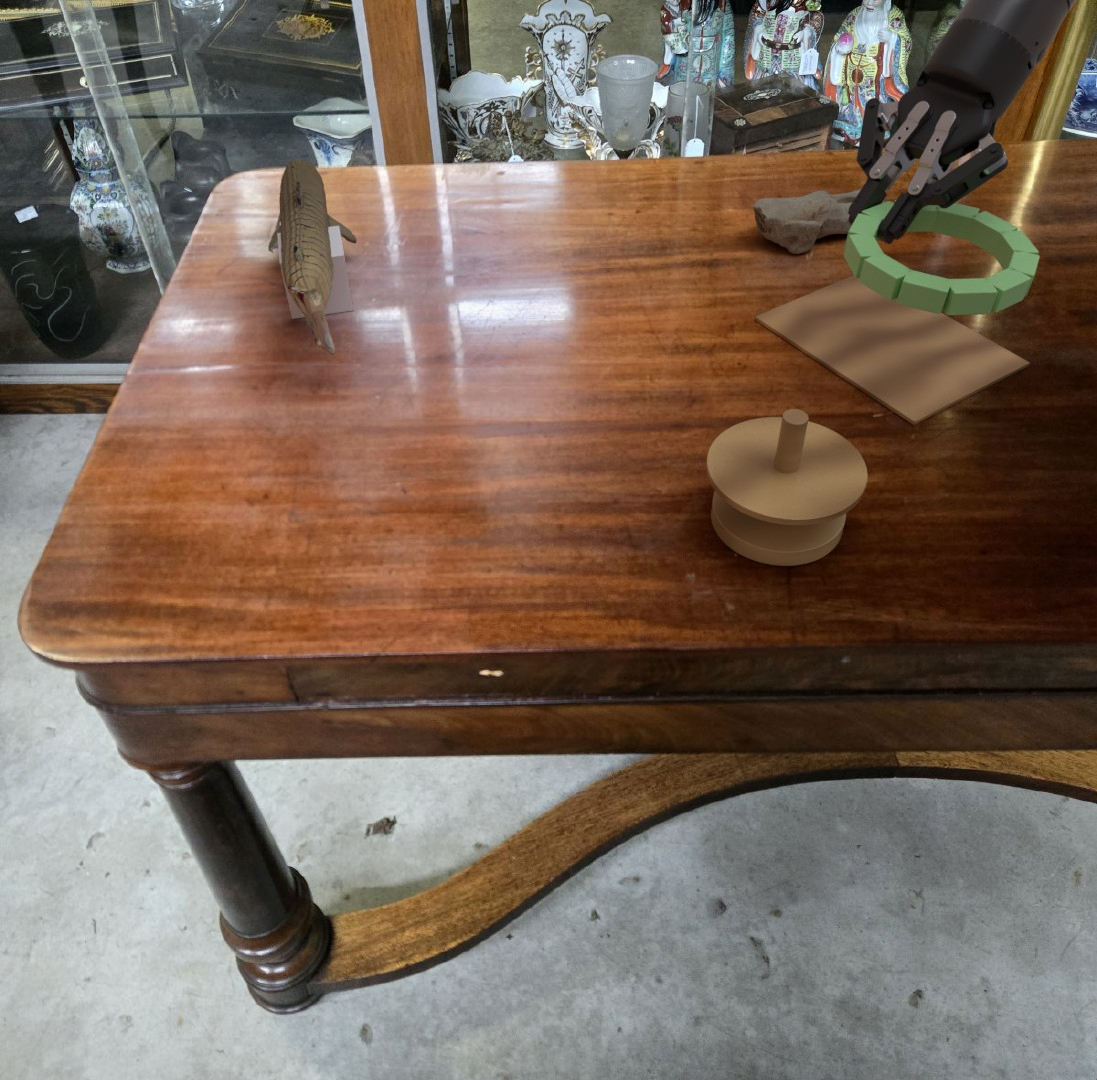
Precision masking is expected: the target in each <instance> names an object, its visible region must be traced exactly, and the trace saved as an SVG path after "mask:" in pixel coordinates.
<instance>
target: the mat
mask: <svg viewBox="0 0 1097 1080" xmlns="http://www.w3.org/2000/svg"><path fill="white" fill-rule="evenodd" d="M897 299H898V298H896V299H894V300H891V301H890V300H888V299H886V298H885V297H883V296H881V295H880V294H878V293H877V292H875V291H873V290H872V289H870V288H868V287H867V286H865V285H864V284H862V283H860V282H859V278H855V277H854V275H853V274H852V275H850V276H847V277H845V278H843V279H841V280H838V281H836V282H833V283H831V284H829V285H826V286H824V287H822V288H819V289H817V290H814V291H812V292H810V293H808V294H805V295H803V296H800V297H798V298H796V299H795V298H794V299H793V300H790V301H788V302H786V303H784V304H781V305H779V306H777V307H774V308H772V309H769V310H767V311H765V312H762V313H759V314H757V315H755V316H754V321H756V322H757V323H758V324H760V325H761V326H763V327H765V328H766V329H768V330H769V331H771V332H772V333H774V334H775V335H776V336H777V337H780V338H781V339H783V340H784V341H786V343H789V344H790V345H792V346H794V347H795V348H796V349H798V350H799V351H801V352H803V353H804V354H805V355H806V356H808V357H810V358H811V359H813V360H814V361H816V362H817V363H819V364H821V365H822V366H824V367H825V368H826V369H828V370H829V371H831V372H833V373H834V374H835V375H837V376H838V377H840V378H842V379H843V380H844V381H846V382H848V383H849V384H851V385H852V386H854V387H855V388H857V389H858V390H860V391H861V392H863V393H864V394H866V395H867V396H869V397H870V398H871V399H873V400H874V401H876V402H877V403H879V404H881V406H884V407H885V408H886V409H888V410H890V411H891V412H893V413H895V414H896V415H897V416H899V417H901V418H902V419H903V420H905V421H907V422H908V423H909V424H911V425H913V426H915V425H918V424H919V423H921V422H923V421H925V420H927V419H929V418H930V417H933V416H935V415H937V414H938V413H940V412H943V411H944V410H946V409H948V408H950V407H952V406H954V405H956V404H958V403H960V402H962V401H963V400H965V399H968V398H969V397H972V396H974V395H975V394H978V393H979V392H981V391H983V390H986V389H987V388H989V387H991V386H993V385H995V384H997V383H999V382H1000V381H1003V380H1004V379H1006V378H1008V377H1010V376H1012V375H1014V374H1016V373H1018V372H1019V371H1022V370H1024V369H1025V368H1027V367H1028V368H1029V366H1030V364H1031V362H1029V361H1028V360H1026V359H1025V358H1022V357H1021V356H1019V355H1017V354H1016V353H1013V352H1012V351H1010V350H1008V349H1006V348H1005V347H1003V346H1002V345H999V344H998V343H996V342H994V341H992V340H991V339H989V338H988V337H985V336H984V335H981V334H980V333H978V332H976V331H975V330H973V329H971V328H969V327H968V326H966V325H965V324H962V323H960V322H959V321H957V320H956V319H953V318H951V316H949V315H947V314H946V313H943V312H941V314H940V315H939V314H935V313H931V312H928V311H924V310H920V309H916V308H912V307H908V306H904V305H900V304H897V303H896V302H897Z"/></svg>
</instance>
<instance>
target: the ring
mask: <svg viewBox="0 0 1097 1080" xmlns="http://www.w3.org/2000/svg"><path fill="white" fill-rule="evenodd" d="M896 200H897V199H894V201H891V200H888V201H885V203H882V204H879V205H877V206H874V207H871V208H869V209H866V210H863V211H862V212H861V214H858V215H857V217H856V219H855V221H854V222H853V224H852V226H851V228H850V230H849V232H848V234H847V236H846V239H845V243H844V244H845V245H844V249H843V258H844V260H845V261H846V264H847V265H848V268H849V269H850V271H851V273H852V275H854V277H855V278H859V282H860V283H862V284H864V285H865V286H867V287H868V288H870V289H872V290H873V291H875V292H877V293H878V294H880V295H881V296H883V297H885V298H886V299H888V300H890V301H891V300H894V299H896V298H898V299H897V302H896V303H897V304H900V305H904V306H908V307H912V308H916V309H920V310H924V311H928V312H931V313H935V314H939V315H940V314H941V313H943V311H944V314H945V315H946V316H973V315H974V316H976V315H981V316H982V315H990V314H991V312H993V313H994V314H996V313H998V312H1000V311H1003V310H1005V309H1007V308H1010V307H1012V306H1013V305H1015V304H1017V303H1018V304H1019V303H1020V302H1022V301H1023V300H1024V299H1025V298H1026V297H1027V295H1028V293H1029V290H1030V288H1031V286H1032V282H1033V281H1034V278H1035V275H1036V273H1037V268H1038V264H1039V262H1040V257H1041V256H1040V255H1039V250H1038V248H1037V247H1036V246H1035V245H1034V244H1033V242H1032V241H1031V240H1030V239H1029V237H1028V236H1027V235H1026V234H1025V232H1024V231H1023V230H1019V227H1018V226H1016V225H1014V224H1012V223H1010V222H1008V221H1007V220H1004V219H1003V218H1001V217H999V216H996V215H995V214H993V213H991V212H989V211H987V210H983V211H981V212H980V208H978V207H974V206H969V205H965V204H960V203H958V202H955V203H954V204H953V205H951V206H950V207H948V208H945V209H943V208H940V207H939V206H938V205H927V206H925V207H923V208H922V209H921V210H920V211H919V213H918V214H917V216H916V217H915V219H914V220H913V222H912V223H911V225H910V226H909V228H908V229H907V231H906V232H905V233H927V232H928V233H929V232H930V233H935V234H939V235H944V236H947V237H948V236H949V237H953V238H956V239H961V240H965V241H967V242H969V243H970V244H973V245H974V246H976V247H978V248H979V249H981V250H982V251H985V252H988V253H989V254H991V255H992V256H993V257H994V258H995V260H996V261H997V263H998V264H999V265H1000V267H1001V268H1002V269H1003V270H1001V271H998V272H995V273H994V274H991V275H990V276H987V277H982V278H981V277H979V278H946V277H942V276H939V275H934V274H930V273H925V272H922V271H918V270H914V269H911V268H909V267H907V266H906V265H904V264H902V263H901V262H899V261H897V260H896V259H893V258H892V257H891V256H889V255H887V254H886V253H884V251H883V249H882V248H881V246H880V245H879V243H878V241H881V239H880V238H879V237H878V235H877V231H878V228H879V226H880V224H881V223H882V221H883V220H884V218H885V217H886V215H887V214H888V212H889V211H890V209H891V208H892V206H893V205H894V203H895V202H896Z"/></svg>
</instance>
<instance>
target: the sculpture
mask: <svg viewBox="0 0 1097 1080" xmlns="http://www.w3.org/2000/svg"><path fill="white" fill-rule="evenodd" d="M861 189H862V188H861ZM861 189H857V190H854V191H850V192H849V191H848V192H841V193H835V194H834V193H833V194H832V193H829V192H828V191H826V190H824V189H823V190H822V189H821V190H815V191H812V192H811V193H808V194H805V195H801V196H797V197H764V198H760V199H758V200H757V201H756V202H755V203H754V204H753V206H752V210H753V212H754V220H755V223H756V227H757V229H758V231H759V233H760V234H761V235H762V236H763V237H764V239H766V240H769V241H771V242H772V243H774V244H778V245H779V246H780V247H782V248H786V249H787V250H788V252H789V253H791V254H794V255H799V254H803V253H806V252H809V251H810V250H811V249H812V248H813V246H814V244H815V243H816V240H819V239H821V238H824V237H827V236H830V235H848V232H849V230H850V228H851V226H852V225H851V224H850V223H849V216H850V215H849V214H848V211H849V207H850V205H851V204H852V202H853V201H854V199H855V198H856V197H857V195H858V193H859V192H860V190H861ZM885 202H886V201H885V199H884V200H883V202H882V203H885ZM882 203H881V204H882Z"/></svg>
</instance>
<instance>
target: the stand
mask: <svg viewBox="0 0 1097 1080" xmlns="http://www.w3.org/2000/svg"><path fill="white" fill-rule="evenodd" d="M809 420H810V417H809V415H808V413H807V412H805V411H804V410H802V409H799V408H789V409H787V410H785V411H784V412H783V413H782V416H767V417H758V418H753V419H748V420H744V421H741V422H739V423H736V424H734V425H732V426H730V427H729V428H727V429H725V430H724V431H722V432H721V433H720V434H719V435H718V436H717V437H716V438H715V439H714V440H713V441H712V443H711V445H710V447H709V449H708V452H707V456H706V464H705V465H706V466H705V468H706V469H705V470H706V475H707V478H708V480H709V483H710V485H711V487H712V489H713V490H714V492H713V496H712V503H711V511H710V519H711V524H712V527H713V529H714V532H715V533H716V535H717V537H718V538H719V539H720V540H721V541H722V542H723V543H724V545H726V546H727V547H728V548H729V549H731V550H732V551H733V552H735V553H736V554H738V555H740V556H741V557H744V558H746V559H749V560H752V561H754V562H756V563H760V564H764V565H770V566H778V567H781V566H782V567H792V566H793V567H794V566H802V565H805V564H809V563H810V564H811V563H813V562H815V561H818V560H820V559H822V558H824V557H825V556H827V555H829V554H830V553H831V552H832V551H833V550H834V549H835V548H836V547H837V545H838V544H839V542H840V541H841V539H842V535H843V531H844V528H845V523H846V520H847V513H849V512H850V511H851V510H852V509H853V508H855V507H856V506H857V505H858V504H859V502H860V501H861V500H862V498H863V496H864V494H865V491H866V487H867V483H868V476H869V475H868V474H869V473H868V468H867V465H866V462H865V459H864V458H863V456H862V454H861V453H860V451H859V450H858V449H857V448H856V446H854V444H852V443H851V442H850V441H849V440H847V438H845V437H844V436H842V435H841V434H839V433H838V432H836V431H834V430H832V429H830V428H828V427H826V426H823V425H821V424H819V423H816V422H813V421H809Z"/></svg>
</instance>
